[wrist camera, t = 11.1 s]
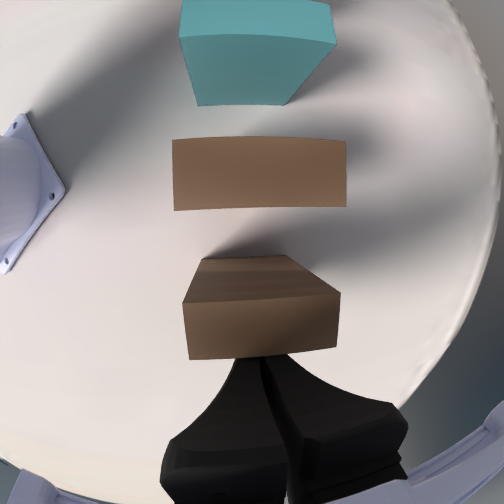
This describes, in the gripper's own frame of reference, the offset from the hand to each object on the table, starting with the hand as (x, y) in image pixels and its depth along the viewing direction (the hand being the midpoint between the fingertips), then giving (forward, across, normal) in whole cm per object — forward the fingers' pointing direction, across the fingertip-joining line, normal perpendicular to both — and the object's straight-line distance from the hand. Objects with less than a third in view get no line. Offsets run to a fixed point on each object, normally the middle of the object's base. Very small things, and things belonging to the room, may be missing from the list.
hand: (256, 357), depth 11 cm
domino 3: (+6, 0, -2) cm, 6 cm away
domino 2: (+6, 0, -7) cm, 9 cm away
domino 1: (+6, -1, -13) cm, 14 cm away
